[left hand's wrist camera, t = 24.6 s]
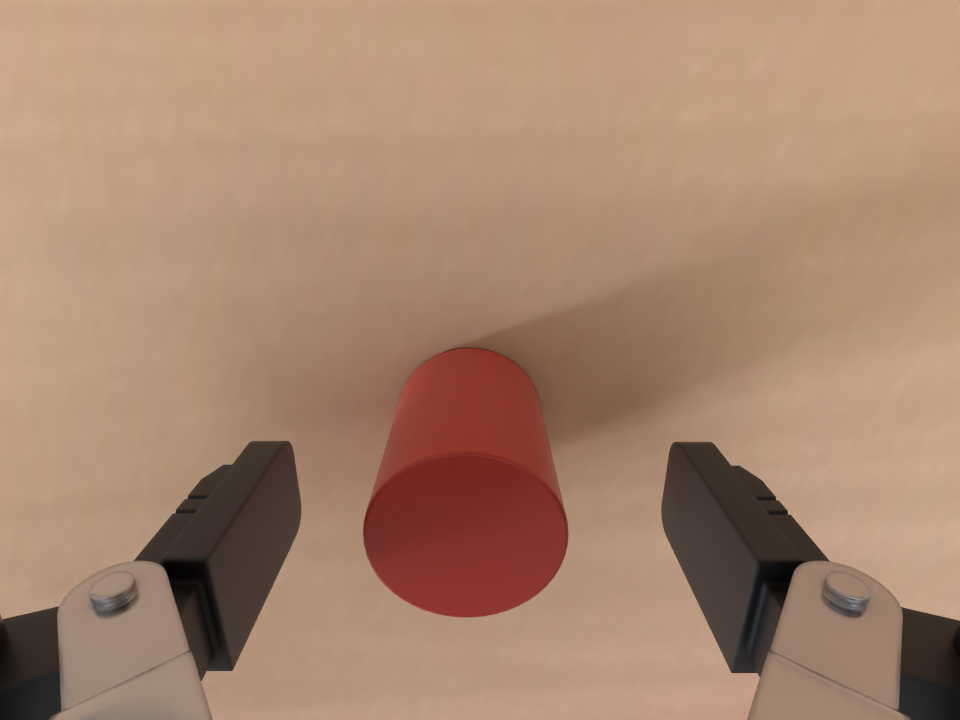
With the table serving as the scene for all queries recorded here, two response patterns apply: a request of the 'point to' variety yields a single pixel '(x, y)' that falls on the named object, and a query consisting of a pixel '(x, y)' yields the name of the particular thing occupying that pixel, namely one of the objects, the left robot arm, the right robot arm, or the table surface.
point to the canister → (467, 490)
